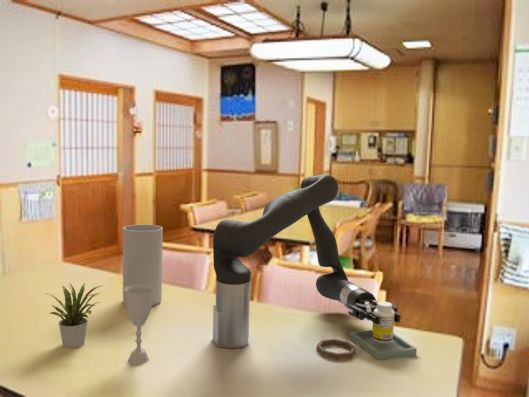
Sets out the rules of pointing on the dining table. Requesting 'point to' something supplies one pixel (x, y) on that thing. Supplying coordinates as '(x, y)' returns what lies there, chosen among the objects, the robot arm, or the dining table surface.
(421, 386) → the dining table surface
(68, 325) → the house plant
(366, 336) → the tray
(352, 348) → the holder ring
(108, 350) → the dining table surface
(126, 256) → the cylinder vase
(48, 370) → the dining table surface
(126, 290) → the chalice
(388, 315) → the supplement bottle
